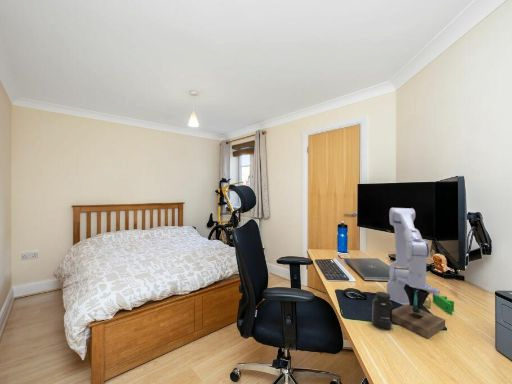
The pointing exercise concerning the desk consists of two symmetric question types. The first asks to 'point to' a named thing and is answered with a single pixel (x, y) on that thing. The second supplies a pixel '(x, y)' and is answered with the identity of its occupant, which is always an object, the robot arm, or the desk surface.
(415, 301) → the long pin
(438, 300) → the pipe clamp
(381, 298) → the supplement bottle
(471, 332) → the desk surface
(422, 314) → the bored board
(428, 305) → the short pin
